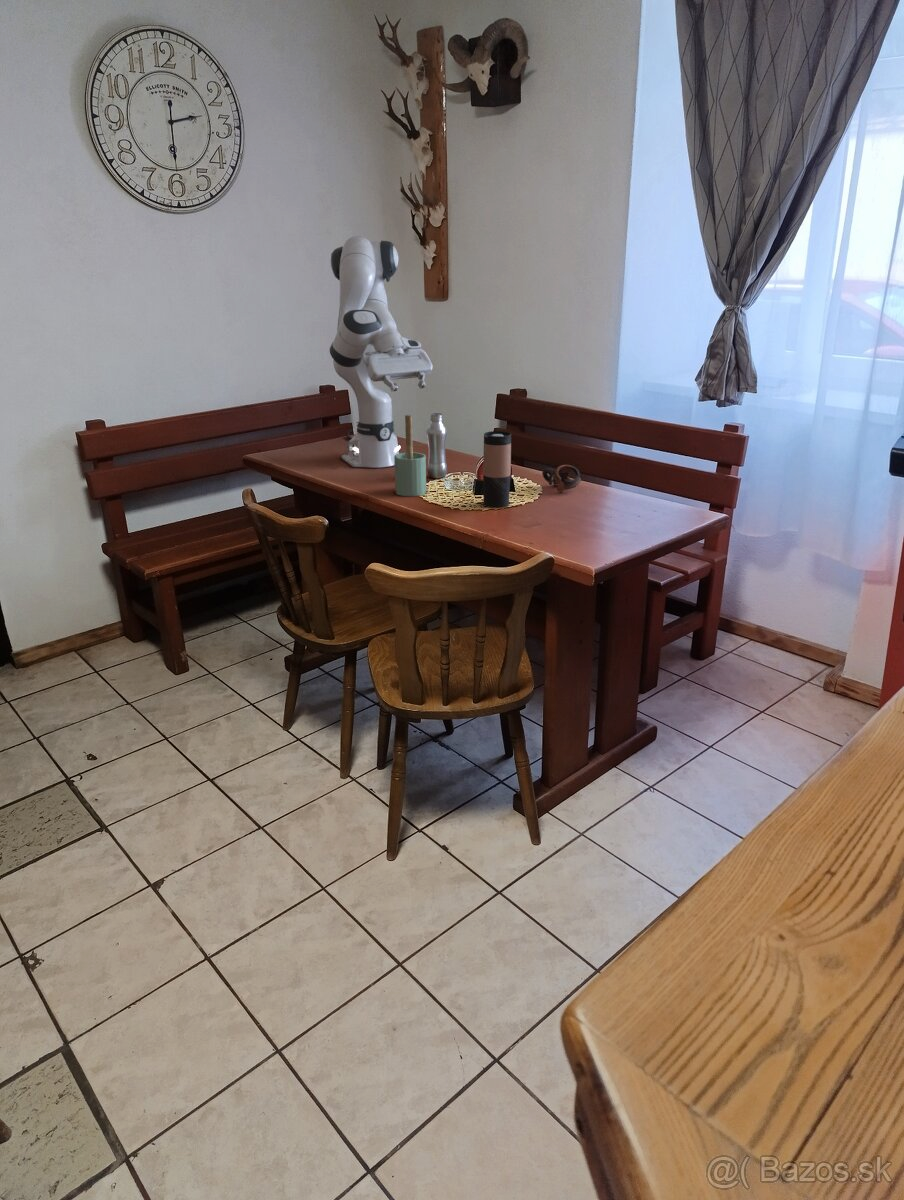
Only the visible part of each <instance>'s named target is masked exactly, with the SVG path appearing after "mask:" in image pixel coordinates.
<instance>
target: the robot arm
mask: <svg viewBox="0 0 904 1200" xmlns="http://www.w3.org/2000/svg"><path fill="white" fill-rule="evenodd" d="M398 266H399V254H398V250H397V249H396V247H395V245H394V243H393V242H392V241H390V240H381V241H370V240H369V239H368V238H366V237H364V236H362V235H353V236H351V237H349V238H347V239H346V240H345V242H344V244H343V246H342V245H341V246H339V247H337V248H335V249H334V250H333V251H332V252H331V254H330V269H331V272H332V273H333V276H334V278H336V279H337V280H338V281H339V309H338V319H337V327H336V328H337V329H336V334H335V336H334V338H333V341H332V342H331V344H330V347H329V353H330V354H329V355H330V356H331V358H332V363H333V368H334V370H335V372H336V374H337V375H338V376H339V378H341V379H343V380H344V381H345V382H346V383H347V384H348V385H349V386H350V387H351V389H352V391H353V392H354V395H355V398H356V403H357V410H358V421H357V422H356V433H355V434H354V435H353V436H352V437H350V434H352V433H353V432H352V429H348V431H347V433H346V438H347V439H348V440H349V441H348V442H347V443H348V444H347V445H346V450H347V453H346V454H345V453H344V454H343V455H341V459H342V460H343V461H344V462H346V463H347V464H348V465H350V466H351V467H353V468H372V469H373V468H374V469H375V468H387V467H392V466H395V465H394V456H395V455H396V454H399V453H400V452H399V450H400V449H401V445H399V444H398V437H397V436H396V435H395V434H394V432H395V424H394V420H393V404H392V403H393V401H392V398H391V396H390V394H388V393H387V392H385V391H384V390H382V389H380V388H377V387H376V386H374V384H373V383H372V382H374V383H375V382H376V383H377V382H383V384H384V385H386V386H387V387H388V388H389V389H390V392H397V391H398V389H399V387H398V385H397V383H396V382H393V381H394V380H405V379H415V378H417V379H418V380H419V381H418V382H417V386H418V388H419V389H425V388H426V387H427V384H426V382H425V378H427V377H430V375H431V374H432V371H433V369H434V365H433V363H432V361H431V359H430V357H429V355H428V354H427V352H426V351H425V350H424V349H422V343H421V341H419V340H414V339H410V338H407V337H404V336H402V335H401V333H400V332H399V331H398V326H397V323H396V320H395V319H394V317H393V315H392V314H391V311H390V310H389V305H388V298H387V297H388V296H387V292H386V288H385V285H384V284H385V283H384V282H385V280H386V283H389V282H390V281H391V278H392V277H393V276H394V275H395V273H396V272H397V270H398Z"/></svg>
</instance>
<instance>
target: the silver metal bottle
mask: <svg viewBox="0 0 904 1200" xmlns="http://www.w3.org/2000/svg"><path fill="white" fill-rule="evenodd" d="M429 420H430V423H429V425H428V426H427V428H426V438H427V445H428V459H427V460H428V462H427V465H426V473H427V475H428V477H430V478H432V479H441V478H445V477H446V476H447V474H448V464H447V458H446V443H447V435H448V434H447V433H448V431H447V428H446V426H445V424H444V423H443V414H442V413H440V412H434V413H430V419H429Z"/></svg>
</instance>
